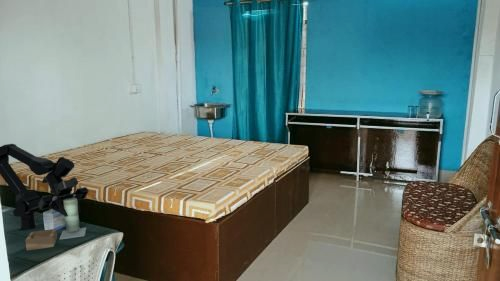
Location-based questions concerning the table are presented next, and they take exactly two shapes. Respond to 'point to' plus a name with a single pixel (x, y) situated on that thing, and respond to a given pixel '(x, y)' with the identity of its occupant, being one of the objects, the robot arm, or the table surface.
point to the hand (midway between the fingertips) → (73, 214)
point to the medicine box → (53, 220)
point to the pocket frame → (41, 239)
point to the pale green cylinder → (71, 214)
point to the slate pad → (73, 233)
